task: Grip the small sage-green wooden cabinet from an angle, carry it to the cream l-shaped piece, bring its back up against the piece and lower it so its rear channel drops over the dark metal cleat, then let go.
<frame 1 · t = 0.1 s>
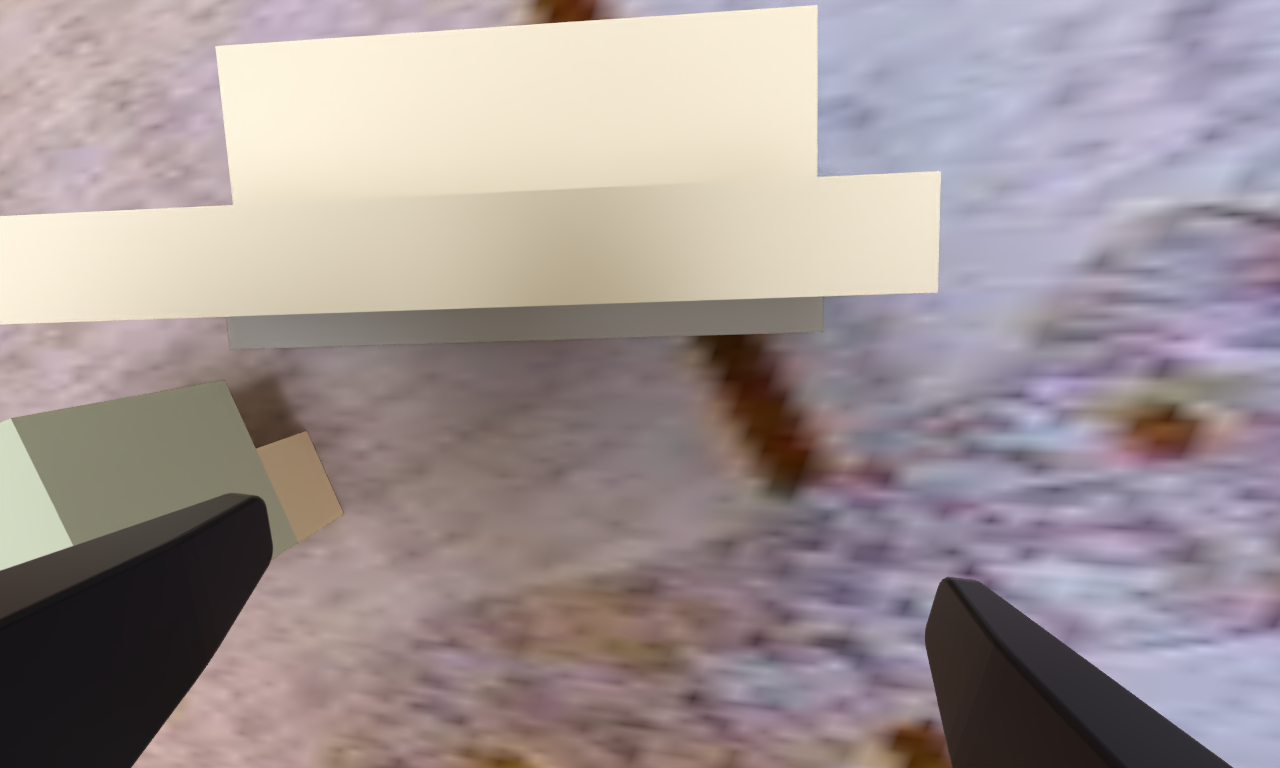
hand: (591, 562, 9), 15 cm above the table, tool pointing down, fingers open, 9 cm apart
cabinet: (261, 476, 26), on the table
cream l-shaped piece: (528, 275, 24), on the table
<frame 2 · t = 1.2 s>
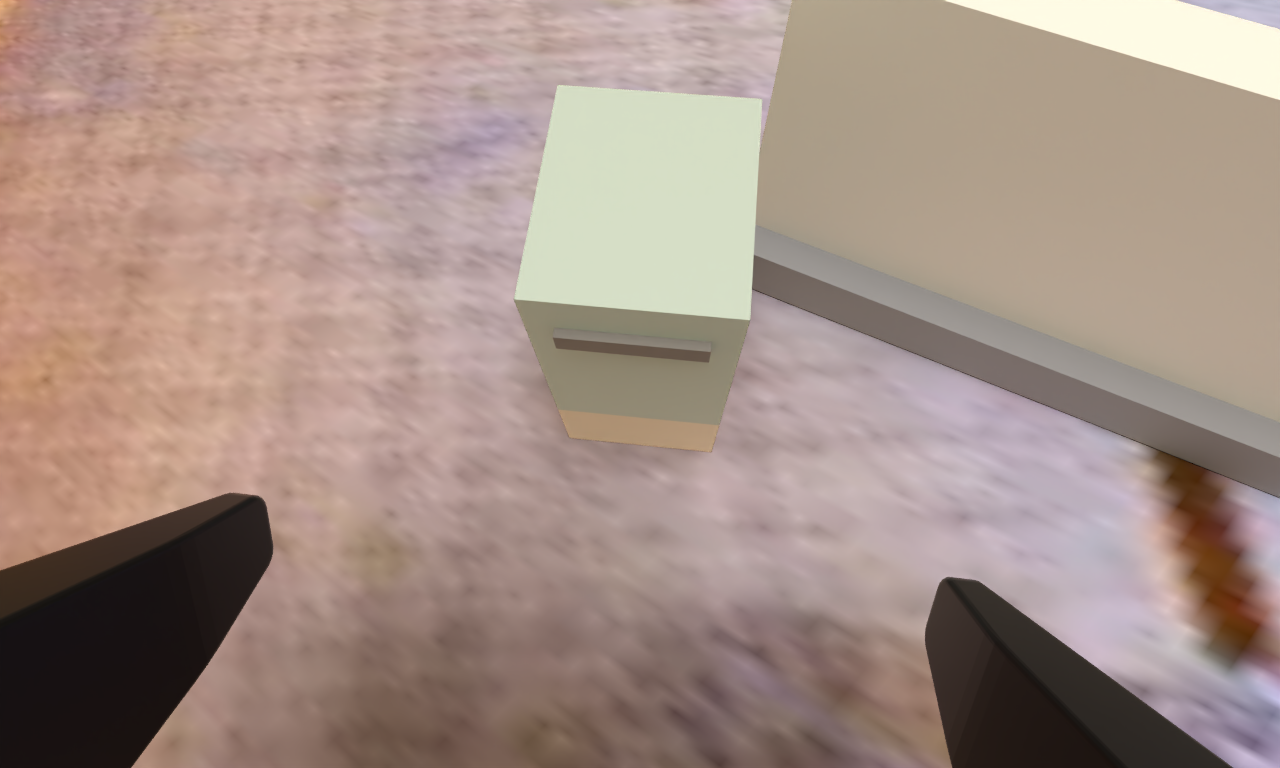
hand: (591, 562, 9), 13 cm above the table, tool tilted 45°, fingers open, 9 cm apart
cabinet: (647, 379, 24), on the table
cream l-shaped piece: (998, 330, 24), on the table
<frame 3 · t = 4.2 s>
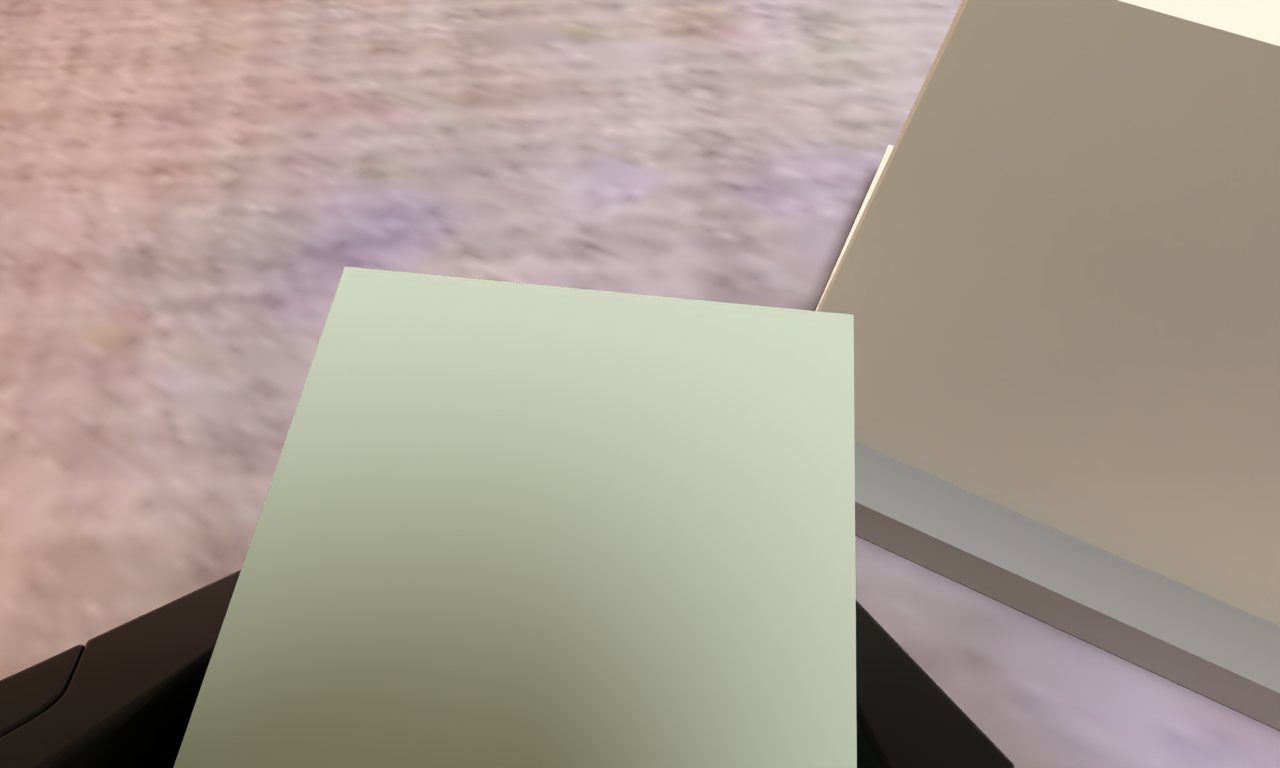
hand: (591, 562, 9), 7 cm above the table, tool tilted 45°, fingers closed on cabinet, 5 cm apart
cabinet: (607, 669, 14), on the table, touching gripper
cream l-shaped piece: (1193, 586, 15), on the table
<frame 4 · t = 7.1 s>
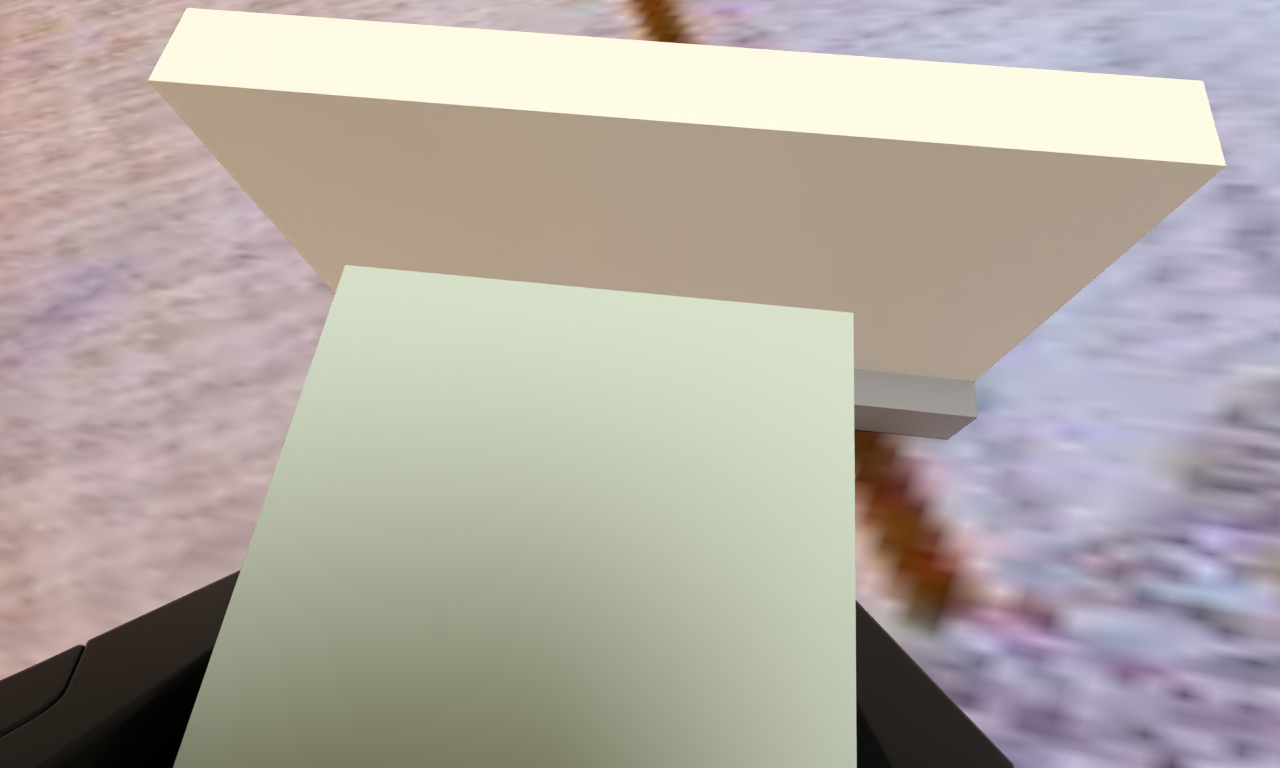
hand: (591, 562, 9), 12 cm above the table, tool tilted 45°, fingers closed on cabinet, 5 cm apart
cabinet: (607, 668, 14), point 6 cm above the table, touching gripper
cream l-shaped piece: (659, 350, 24), on the table
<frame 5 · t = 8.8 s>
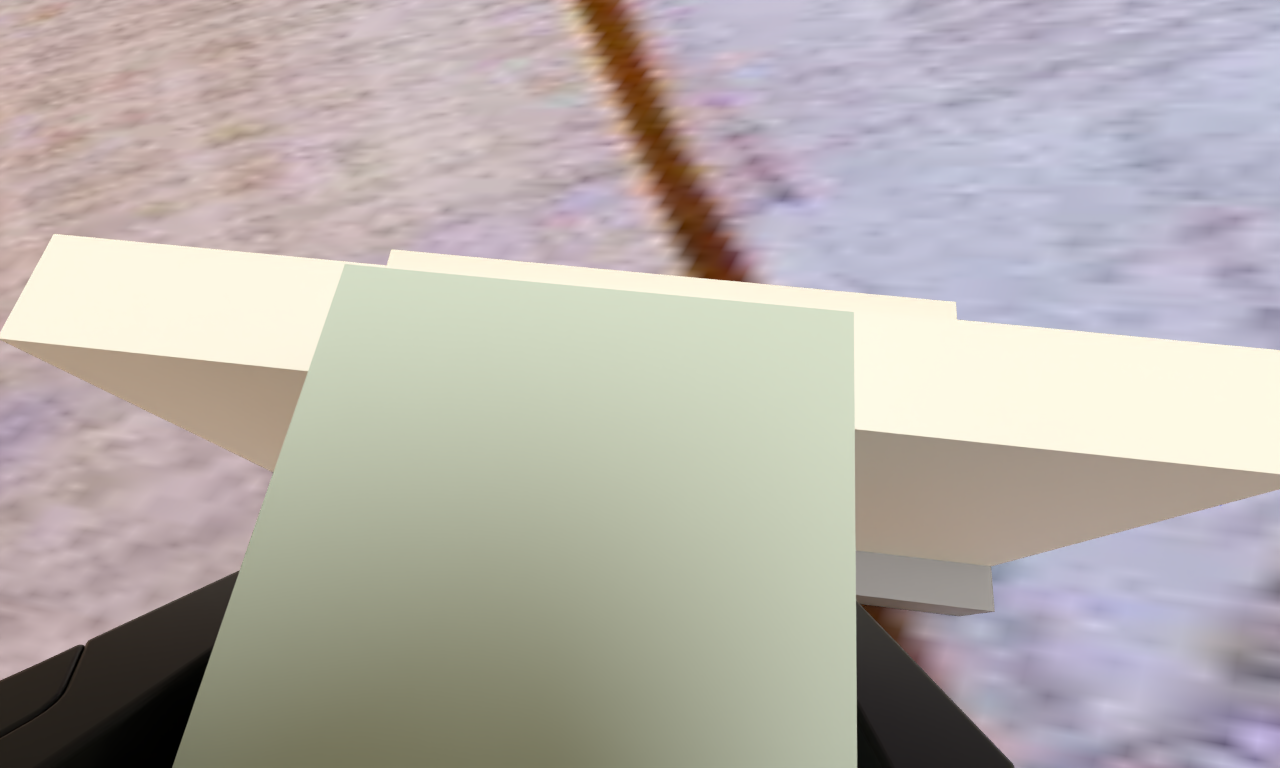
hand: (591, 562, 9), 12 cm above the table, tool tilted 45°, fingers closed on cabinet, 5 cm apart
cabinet: (607, 668, 14), point 6 cm above the table, touching gripper
cream l-shaped piece: (639, 506, 21), on the table
when the fingers open (7 cm above the table, at t = 10.2 s): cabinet stays where it is, on the table.
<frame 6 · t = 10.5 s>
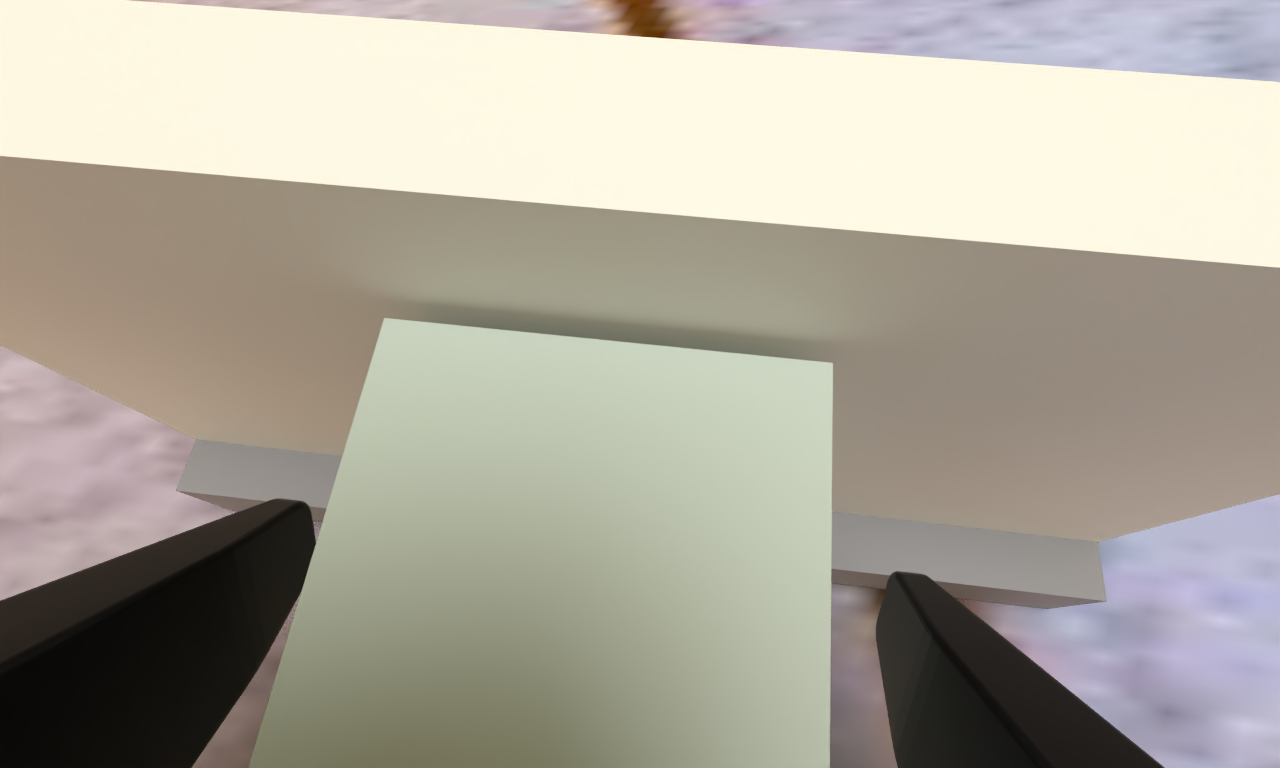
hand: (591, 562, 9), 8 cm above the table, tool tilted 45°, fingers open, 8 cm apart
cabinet: (611, 670, 15), on the table
cream l-shaped piece: (635, 470, 17), on the table
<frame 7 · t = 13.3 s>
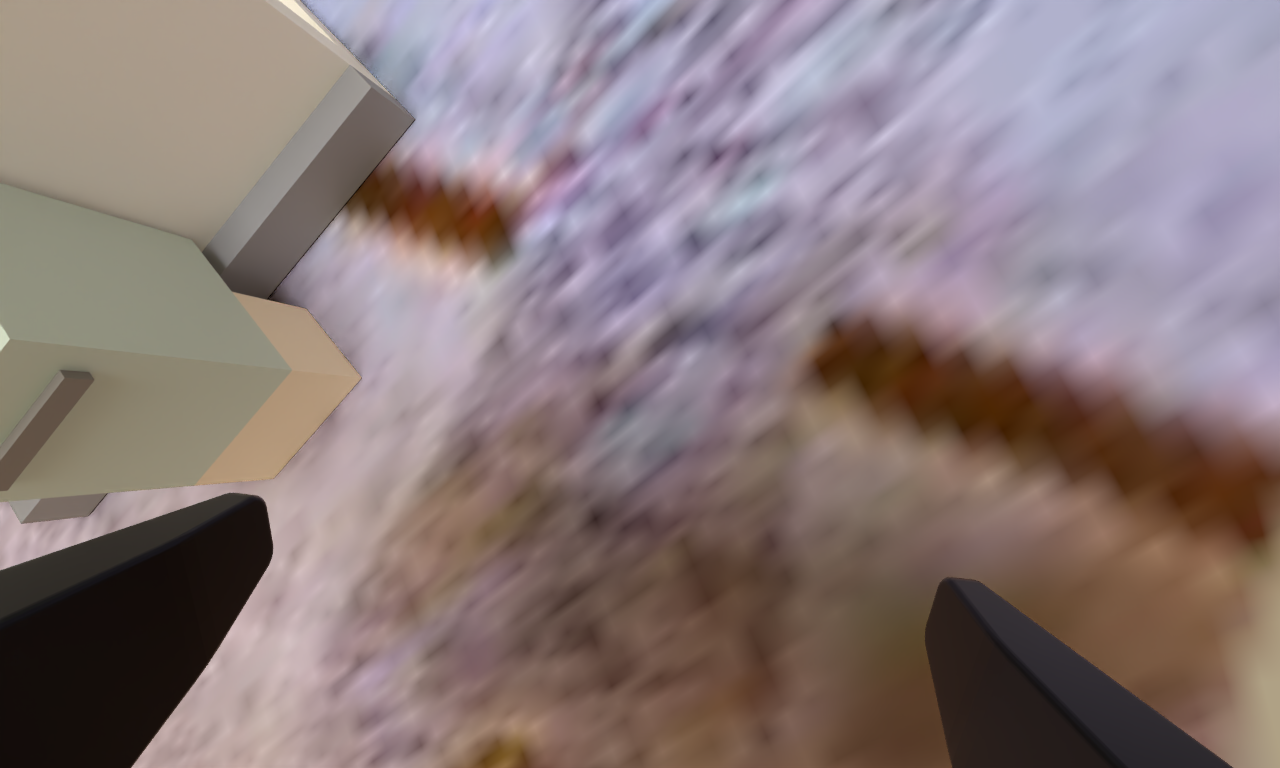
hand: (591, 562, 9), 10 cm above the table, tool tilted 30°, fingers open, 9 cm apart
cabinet: (278, 378, 23), on the table
cream l-shaped piece: (210, 290, 25), on the table
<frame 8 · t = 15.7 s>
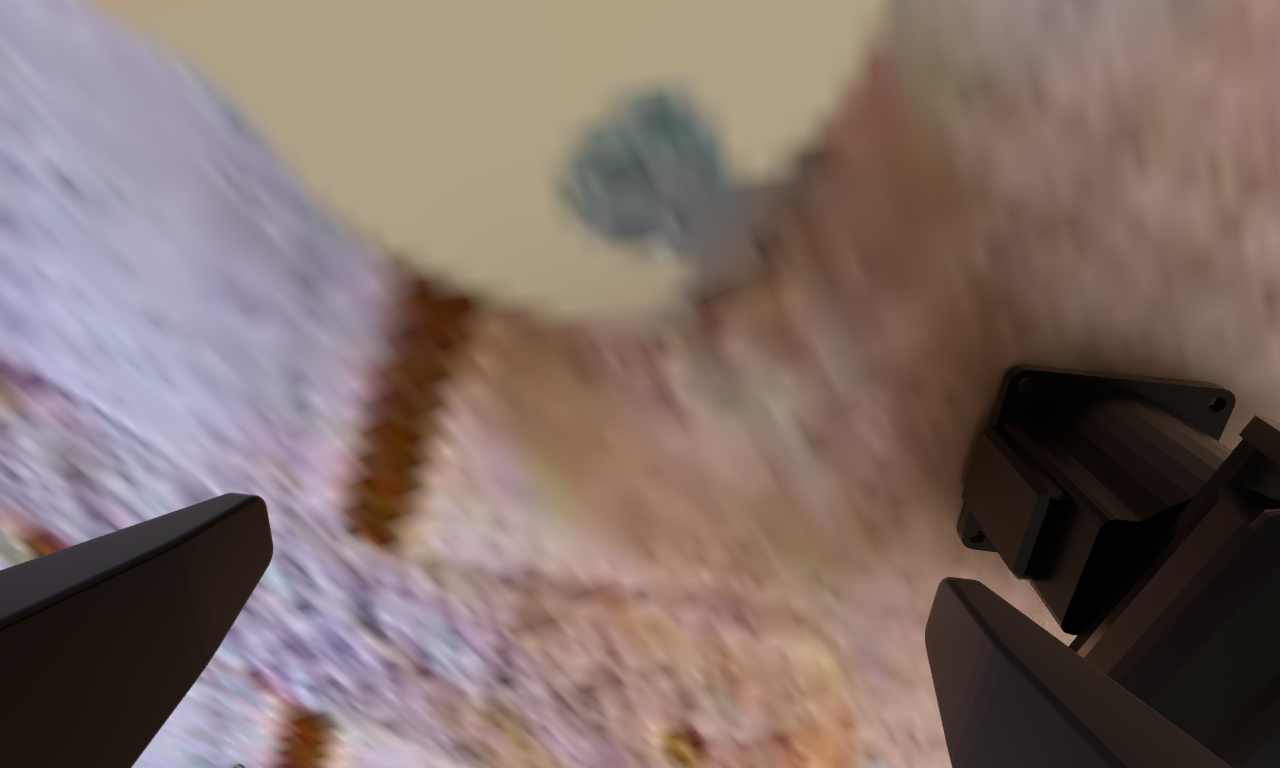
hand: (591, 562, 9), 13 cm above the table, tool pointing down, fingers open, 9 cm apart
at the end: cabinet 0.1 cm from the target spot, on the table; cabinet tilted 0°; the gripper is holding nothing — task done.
